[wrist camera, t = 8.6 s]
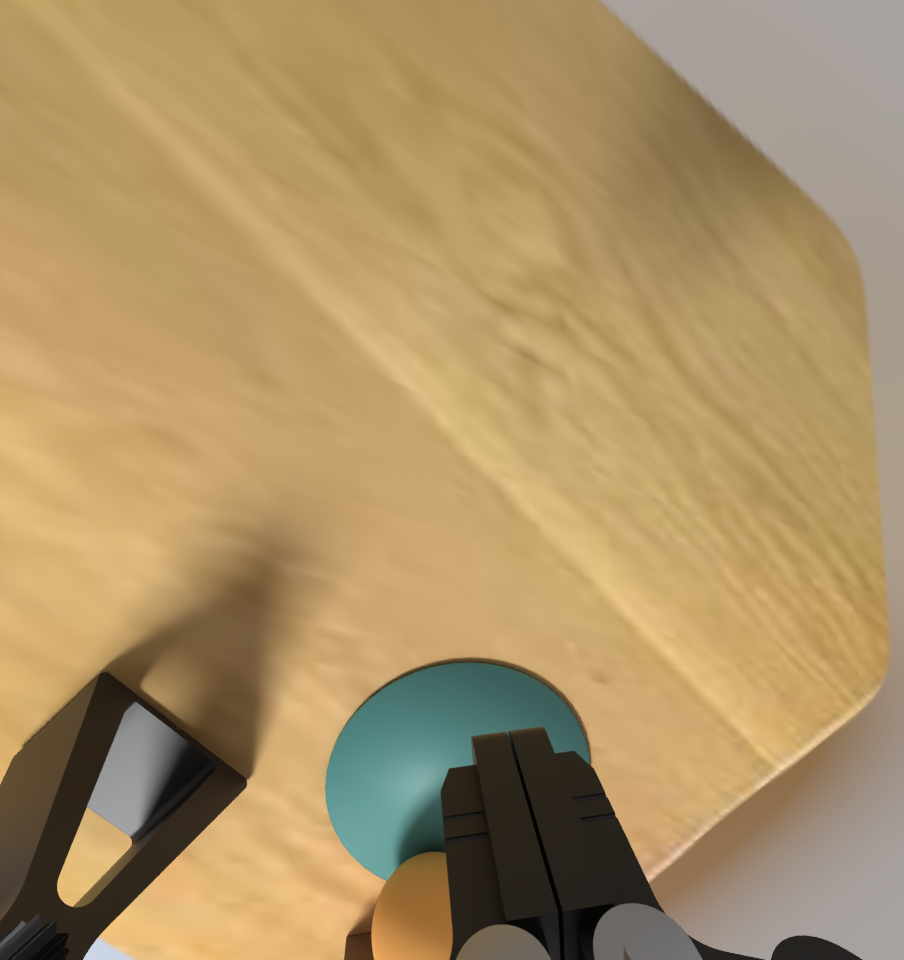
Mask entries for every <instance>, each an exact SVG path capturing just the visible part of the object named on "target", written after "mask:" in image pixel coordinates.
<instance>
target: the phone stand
mask: <svg viewBox="0 0 904 960" xmlns="http://www.w3.org/2000/svg"><path fill="white" fill-rule="evenodd" d="M246 786H247V781H246V779H245V778H244V777H243V776H242V775H240V774H239V773H238V772H236V771H235V770H234V769H233V768H231V767H230V766H229V765H227V764H226V763H225V762H224V761H222V760H221V759H220V758H218V757H217V756H216V755H214V754H213V753H212V752H211V751H209V750H208V749H207V748H205V747H204V746H203V745H201V744H200V743H199V742H198V741H196V740H195V739H194V738H192V737H191V736H190V735H188V734H187V733H186V732H185V731H183V730H181V731H179V730H177V728H176V725H175V724H174V723H173V722H172V721H170V720H169V719H168V718H166V717H165V716H164V715H163V714H161V713H160V712H159V711H157V710H156V709H155V708H153V707H152V706H151V705H150V704H148V703H147V702H146V701H144V700H143V699H142V698H140V697H139V696H138V695H137V694H135V693H134V692H133V691H131V690H130V689H129V688H127V687H126V686H125V685H124V684H122V683H121V682H120V681H118V680H117V679H116V678H114V677H113V676H112V675H111V674H109V673H101V674H100V675H99V676H98V677H97V678H96V679H95V680H94V681H93V682H92V683H91V684H90V685H89V686H87V687H86V688H85V689H84V690H83V691H82V692H81V693H80V694H79V695H78V696H77V697H76V698H75V699H74V700H73V701H72V702H71V703H70V704H69V705H68V706H66V707H65V708H64V709H63V710H62V711H61V712H60V713H59V714H58V715H57V716H56V717H55V718H54V719H53V720H52V721H51V722H50V723H49V724H48V725H47V726H45V727H44V728H43V729H42V730H41V731H40V732H39V733H38V734H37V735H36V736H35V737H34V738H33V739H32V740H31V741H30V742H29V743H28V744H27V745H26V746H24V747H23V748H22V749H21V750H20V751H19V752H18V753H17V754H16V755H15V756H14V757H13V759H12V761H11V763H10V765H9V767H8V770H7V772H6V774H5V776H4V778H3V780H2V782H1V785H0V960H83V958H84V956H85V955H86V953H87V952H88V950H89V949H90V947H91V945H92V944H93V943H94V942H95V940H96V939H97V938H98V937H99V935H100V934H101V933H102V932H103V931H104V930H105V929H106V928H107V927H108V926H109V925H110V924H111V923H112V922H113V921H114V920H115V919H116V918H117V917H118V916H119V915H120V914H121V913H122V912H123V911H124V910H125V909H126V908H127V907H128V906H129V905H130V904H131V903H132V902H133V901H134V900H135V899H136V898H137V897H138V896H139V895H140V894H141V893H142V892H143V891H144V890H145V889H146V888H147V887H148V886H149V885H150V884H151V883H152V882H153V881H154V880H155V878H156V877H157V876H158V875H159V874H160V873H161V872H162V871H163V870H164V869H165V868H166V867H167V866H168V865H169V864H170V863H171V862H172V861H173V860H174V859H175V858H176V857H177V856H178V855H179V854H180V853H181V852H182V851H183V850H184V849H185V848H186V847H187V846H188V845H189V844H190V843H191V842H192V841H193V840H194V839H195V838H196V837H197V836H198V835H199V834H200V833H201V832H202V831H203V830H204V829H205V828H206V827H207V826H208V825H209V824H210V823H211V822H212V821H213V820H214V819H215V818H216V817H217V816H218V815H219V814H220V813H221V812H222V811H223V810H224V809H225V808H226V807H227V806H228V805H229V804H230V803H231V802H232V801H233V800H234V799H235V798H236V797H237V796H238V795H239V794H240V793H241V792H242V791H243V790H244V789H245V788H246ZM87 807H88V808H90V809H91V810H92V811H94V812H95V813H97V814H98V815H100V816H101V817H103V818H104V819H105V820H107V821H108V822H110V823H111V824H113V825H114V826H115V827H117V828H118V829H120V830H121V831H123V832H124V833H126V834H127V835H128V836H130V837H131V839H132V846H131V847H130V849H129V850H128V851H127V852H126V853H125V854H124V855H123V856H122V857H121V858H120V859H119V860H118V861H117V862H116V863H115V864H114V865H113V866H112V867H111V868H110V869H109V870H108V871H107V872H106V873H105V874H104V875H103V877H102V878H101V879H100V880H99V881H98V882H97V883H96V884H95V885H94V886H93V887H92V888H91V889H90V890H89V891H88V892H87V893H86V894H85V895H84V896H83V897H82V898H81V899H80V900H79V901H78V902H77V903H76V904H75V905H74V906H73V907H71V906H68V905H66V904H65V903H64V902H63V901H62V900H61V899H60V897H59V895H58V892H57V881H58V877H59V875H60V872H61V870H62V867H63V865H64V862H65V860H66V857H67V855H68V852H69V850H70V847H71V845H72V842H73V840H74V837H75V835H76V832H77V830H78V827H79V825H80V822H81V820H82V818H83V815H84V813H85V810H86V808H87Z"/></svg>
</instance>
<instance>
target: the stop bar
mask: <svg viewBox="0 0 904 960" xmlns="http://www.w3.org/2000/svg"><path fill="white" fill-rule="evenodd" d="M344 960H374V956H373V950H372V933H367V934H361V935H354V936H348V937H347V938H346V948H345V957H344Z"/></svg>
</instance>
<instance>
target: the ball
mask: <svg viewBox="0 0 904 960" xmlns="http://www.w3.org/2000/svg"><path fill="white" fill-rule="evenodd" d="M452 943H453V930H452V919H451V907H450V896H449V885H448V873H447V862H446V853H443V852H426V853H422V854H418V855H416V856H414V857H412V858H410V859H408V860H407V861H405V862H404V863H403V864H401V865H400V866H399V867H398V868H397V869H396V870H395V871H394V872H393V873H392V875H391V876H390V877H389V879H388V880H387V882H386V883H385V885H384V887H383V889H382V891H381V893H380V895H379V898H378V900H377V903H376V907H375V910H374V915H373V921H372V950H373V956H374V960H449V959H450V955H451V951H452Z"/></svg>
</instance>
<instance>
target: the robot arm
mask: <svg viewBox="0 0 904 960" xmlns="http://www.w3.org/2000/svg"><path fill="white" fill-rule="evenodd" d="M471 745H472V758H473V765H469V766H462V767H455V768H449V770H448V772H447V775H446V778H445V780H444V783H443V786H442V788H441V791H440V793H441V804H442V816H443V827H444V839H445V850H446V862H447V873H448V885H449V896H450V907H451V919H452V930H453V943H452V951H451V955H450V959H449V960H763V959H759V958H754V957H749V956H744V955H739V954H734V953H729V952H724V951H721V950H717V949H714V948H711V947H709V946H707V945H704V944H702V943H700V942H698V941H697V940H695V939H693V938H692V937H690V936H689V935H687V934H686V932H685V931H684V930H683V929H682V928H681V927H680V926H679V925H678V924H677V923H676V922H675V921H674V920H673V919H671V918H670V917H669V916H667V915H666V914H665V912H664V911H663V910H662V908H661V907H660V905H659V903H658V902H657V900H656V898H655V896H654V894H653V892H652V890H651V888H650V885H649V883H648V881H647V879H646V877H645V875H644V873H643V871H642V869H641V867H640V864H639V862H638V860H637V858H636V856H635V854H634V852H633V850H632V848H631V846H630V844H629V841H628V839H627V837H626V835H625V833H624V831H623V829H622V827H621V825H620V823H619V820H618V818H616V816H615V812H614V810H613V808H612V806H611V804H610V802H609V799H608V797H607V798H606V795H605V791H604V789H603V787H602V785H601V783H600V781H599V779H598V776H597V774H596V772H595V770H594V769H593V768H592V767H591V766H590V765H589V764H588V763H587V762H586V761H585V760H584V759H583V758H582V757H581V756H580V755H579V754H577V753H576V752H575V751H568V752H561V753H555V752H554V750H553V747H552V745H551V742H550V740H549V737H548V735H547V732H546V730H545V728H544V727H543V726H541V727H534V728H526V729H519V730H512V731H508V735H507V732H506V731H505V732H498V733H491V734H483V735H476V736H471ZM771 960H862V959H860V958H859V957H857V956H856V955H854V954H852V953H851V952H849V951H847V950H846V949H844V948H842V947H840V946H838V945H836V944H834V943H832V942H829V941H827V940H824V939H821V938H817V937H812V936H794V937H790V938H787V939H785V940H783V941H782V942H780V943H779V944H778V945H777V947H776V948H775V950H774V952H773V954H772V958H771Z"/></svg>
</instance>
